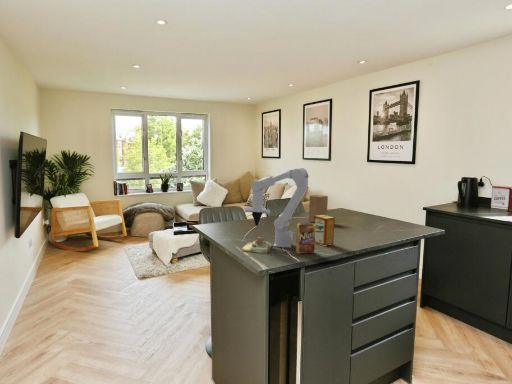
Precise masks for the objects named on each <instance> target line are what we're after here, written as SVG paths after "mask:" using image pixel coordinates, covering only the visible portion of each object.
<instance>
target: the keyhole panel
mask: <svg viewBox="0 0 512 384" xmlns="http://www.w3.org/2000/svg"><path fill="white" fill-rule="evenodd" d="M256 240H257V243H255V241H253V240H252V242H251V243H252V244H253V243H255V244H256V247H253V246H251V250H263V251H267V248H268V244H270V243H269V241H264V236H257V238H256ZM258 247H259V248H258Z"/></svg>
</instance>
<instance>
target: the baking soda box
mask: <svg viewBox="0 0 512 384" xmlns="http://www.w3.org/2000/svg"><path fill="white" fill-rule="evenodd" d="M314 224H315V225H316V230H315V244H316V243H319V244H322V245H329V244H333V245H334V237H335V236H334V235H335V217H333V216H330V215H328V214H327V215H317V216H314ZM319 244H318V245H319ZM322 245H321V246H322Z"/></svg>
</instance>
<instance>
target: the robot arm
mask: <svg viewBox="0 0 512 384" xmlns="http://www.w3.org/2000/svg"><path fill="white" fill-rule="evenodd" d="M286 179H292V181H293V182H294V183H295V186H296V190H295V191H294V193H293V195H292V196H291V197H290V200H289V202H288V203H287V205H286V206H285V208H284V210H283V212H281V214H280V215H279V216H278V218H276V219H275V220H274V222H273V226H274V228H275V233H274V235H275V236H274V244H272V247H276V248H278V247H280V248H292V246H293V230H291V229H289V226H290V224H291V220H292V217H293V214H294V212H295V211H296V210H297V208H298V206H299V204H300V202H301V201H302V199H303V197H304V196H305V194H306V193H307V191H308V188H309V173H308V171H307V170H306V169H305V168H302V167H301V168H294V169H290V170H286V171H284V172H281V173H279V174H277V175H275V176H273V175H270V174H267V175H266V176H265V177H263V178H261V177H260V178H259V179H258V180H253V181H252V182H251V184H250V187H251V188H250V189H251V190H252V207H251V208H248V207H247V208H244V213H251V216H252V218H253V220H254V225H255V227H258V226H259V225H260V224H259V223H260V220H261V218H262V216H263V214H268V215H270V214H271V209H264V208H263V201H264V200H263V196H264V195H263V193H264V191H263V190H264V189H267V188H270V187H273V186H275V184H276V183H277V182H280V181H282V180H286Z"/></svg>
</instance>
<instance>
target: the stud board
mask: <svg viewBox="0 0 512 384" xmlns="http://www.w3.org/2000/svg"><path fill="white" fill-rule="evenodd" d="M252 243H253V242H250V241H249V242H246V244H245V245H244V246H243V247H242V248H241V249H240V250H241V252H251V253H261V254H268V252H269V251H270V250H271V248H272V247H273V244H271V243H269V244H268V248H267V251H263V250H251V246H253V247H256V244H255V243H257V239H256V240H255V243H253V244H252ZM258 248H259V247H258Z"/></svg>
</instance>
